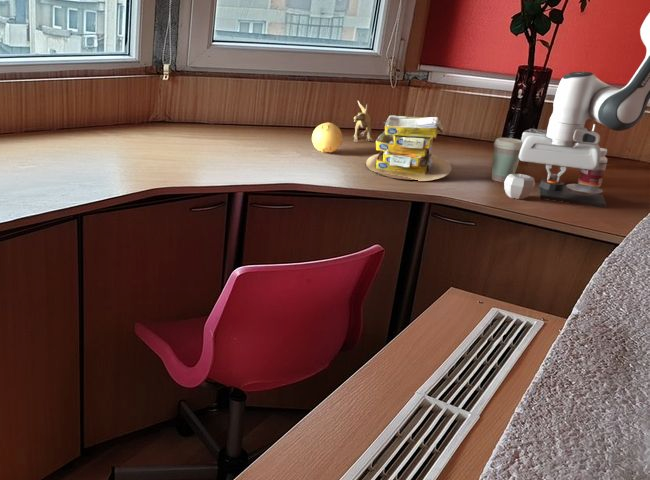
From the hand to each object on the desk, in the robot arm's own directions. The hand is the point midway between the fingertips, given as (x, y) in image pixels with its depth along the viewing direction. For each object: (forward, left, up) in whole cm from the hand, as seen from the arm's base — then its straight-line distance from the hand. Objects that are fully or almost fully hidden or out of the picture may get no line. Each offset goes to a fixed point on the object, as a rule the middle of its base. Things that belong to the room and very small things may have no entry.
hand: (552, 180), depth 203 cm
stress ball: (+68, -13, -4) cm, 69 cm away
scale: (-5, +3, -3) cm, 7 cm away
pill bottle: (-11, -15, -4) cm, 19 cm away
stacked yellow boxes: (+40, -2, -4) cm, 40 cm away
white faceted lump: (+9, +12, -4) cm, 15 cm away
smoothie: (-11, -41, -4) cm, 43 cm away
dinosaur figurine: (+61, -41, -4) cm, 74 cm away
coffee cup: (+13, -7, -4) cm, 15 cm away
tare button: (0, 0, -2) cm, 2 cm away
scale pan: (-8, +5, 0) cm, 9 cm away
